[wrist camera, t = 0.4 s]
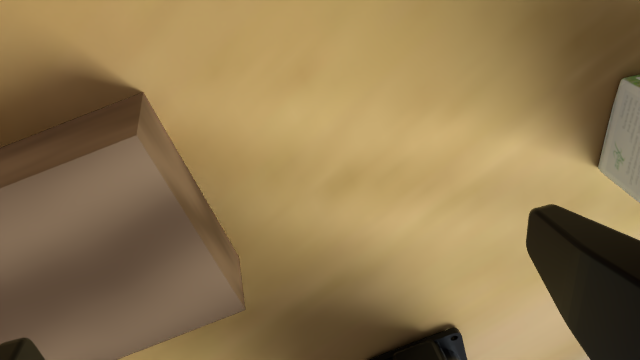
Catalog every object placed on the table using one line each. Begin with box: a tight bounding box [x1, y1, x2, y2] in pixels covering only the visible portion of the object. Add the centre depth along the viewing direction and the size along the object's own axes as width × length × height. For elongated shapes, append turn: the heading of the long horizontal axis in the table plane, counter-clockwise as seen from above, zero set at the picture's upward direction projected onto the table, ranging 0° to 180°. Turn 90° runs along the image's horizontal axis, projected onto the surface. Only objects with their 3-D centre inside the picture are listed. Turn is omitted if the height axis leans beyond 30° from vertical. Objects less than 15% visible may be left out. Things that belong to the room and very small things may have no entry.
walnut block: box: [0, 92, 245, 360], centre depth 23 cm, size 10×10×4 cm
